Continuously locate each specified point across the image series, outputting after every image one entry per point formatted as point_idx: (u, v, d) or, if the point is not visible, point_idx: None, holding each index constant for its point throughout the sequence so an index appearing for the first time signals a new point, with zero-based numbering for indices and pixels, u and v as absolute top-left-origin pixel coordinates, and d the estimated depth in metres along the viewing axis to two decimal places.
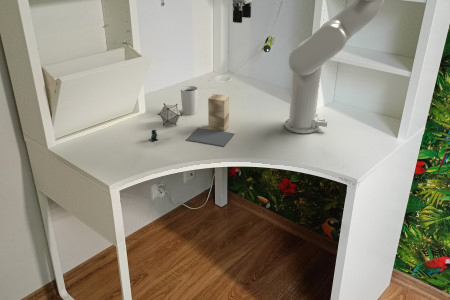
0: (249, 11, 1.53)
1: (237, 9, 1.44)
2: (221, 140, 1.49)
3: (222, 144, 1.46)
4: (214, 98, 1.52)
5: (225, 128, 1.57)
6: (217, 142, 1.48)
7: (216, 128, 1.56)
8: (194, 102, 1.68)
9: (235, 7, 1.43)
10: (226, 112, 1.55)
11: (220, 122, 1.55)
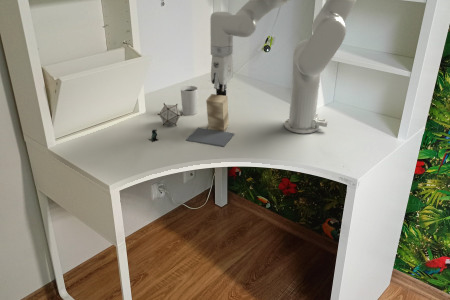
0: None
1: None
2: (221, 140, 1.49)
3: (222, 144, 1.46)
4: (213, 100, 1.51)
5: (225, 128, 1.56)
6: (217, 142, 1.48)
7: (216, 128, 1.56)
8: (194, 102, 1.68)
9: (218, 89, 1.53)
10: (225, 113, 1.54)
11: (219, 122, 1.54)
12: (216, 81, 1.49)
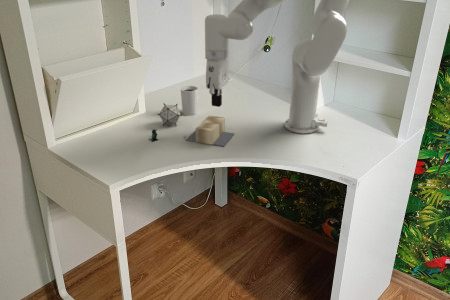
0: None
1: None
2: (221, 140, 1.49)
3: (222, 144, 1.46)
4: (202, 141, 1.47)
5: (223, 127, 1.55)
6: (217, 142, 1.48)
7: None
8: (194, 102, 1.68)
9: (213, 93, 1.48)
10: (217, 133, 1.50)
11: None
12: (211, 86, 1.45)
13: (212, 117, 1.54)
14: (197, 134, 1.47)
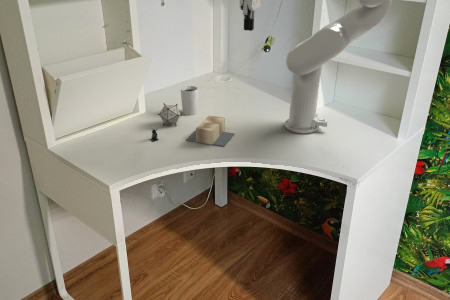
0: None
1: None
2: (221, 140, 1.49)
3: (222, 144, 1.46)
4: (202, 141, 1.47)
5: (223, 127, 1.55)
6: (217, 142, 1.48)
7: None
8: (194, 102, 1.68)
9: (246, 16, 1.49)
10: (217, 133, 1.50)
11: None
12: (245, 6, 1.46)
13: (212, 117, 1.54)
14: (197, 134, 1.47)
